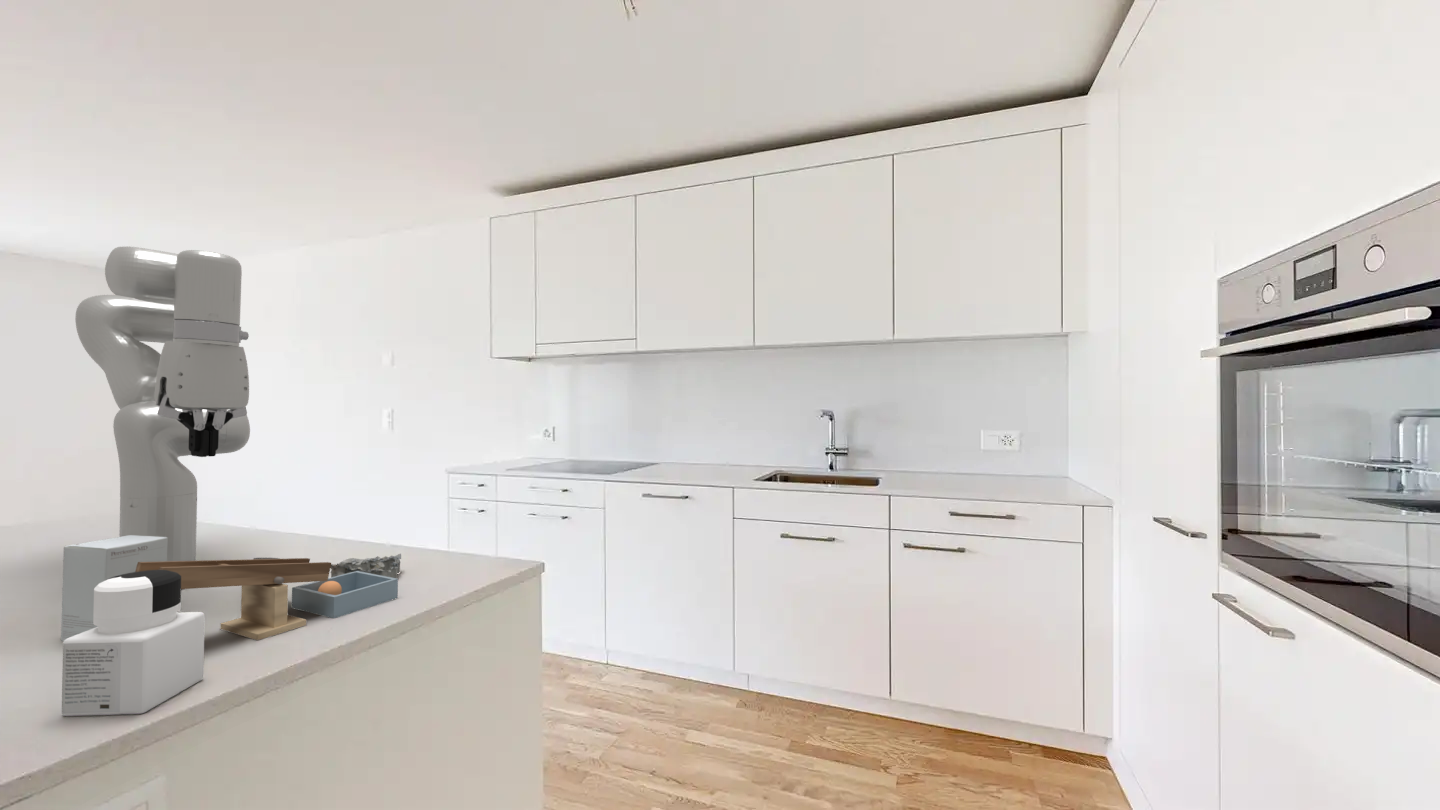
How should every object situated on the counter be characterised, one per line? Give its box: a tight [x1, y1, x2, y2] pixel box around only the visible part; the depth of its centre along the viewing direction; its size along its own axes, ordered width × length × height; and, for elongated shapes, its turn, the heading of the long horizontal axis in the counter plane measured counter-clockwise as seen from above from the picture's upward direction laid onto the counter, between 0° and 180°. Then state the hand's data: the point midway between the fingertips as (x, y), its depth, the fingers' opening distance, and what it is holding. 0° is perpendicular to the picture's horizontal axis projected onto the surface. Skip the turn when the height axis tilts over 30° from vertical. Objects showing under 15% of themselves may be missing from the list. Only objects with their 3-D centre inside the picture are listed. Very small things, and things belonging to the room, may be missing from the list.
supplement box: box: [60, 535, 168, 642], centre depth 78 cm, size 7×7×13 cm
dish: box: [291, 571, 399, 619], centre depth 91 cm, size 10×10×4 cm
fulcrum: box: [219, 583, 307, 641], centre depth 81 cm, size 9×6×6 cm, turn 66°
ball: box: [318, 581, 342, 595], centre depth 91 cm, size 3×3×3 cm
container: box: [61, 570, 205, 717], centre depth 61 cm, size 8×8×13 cm
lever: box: [135, 557, 332, 590], centre depth 81 cm, size 17×21×3 cm
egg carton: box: [330, 553, 402, 579], centre depth 104 cm, size 11×8×4 cm
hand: (203, 455), depth 87 cm, fingers closed
